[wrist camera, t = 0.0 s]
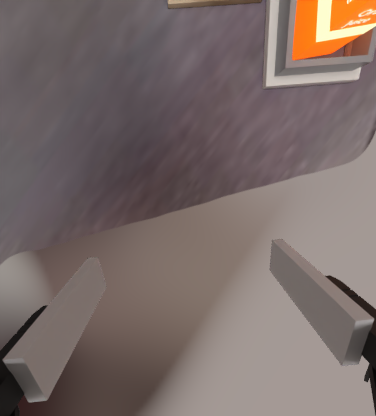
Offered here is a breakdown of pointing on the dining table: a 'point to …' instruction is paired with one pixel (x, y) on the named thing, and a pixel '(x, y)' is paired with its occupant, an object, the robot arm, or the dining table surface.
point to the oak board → (206, 3)
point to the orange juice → (330, 25)
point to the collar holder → (310, 68)
